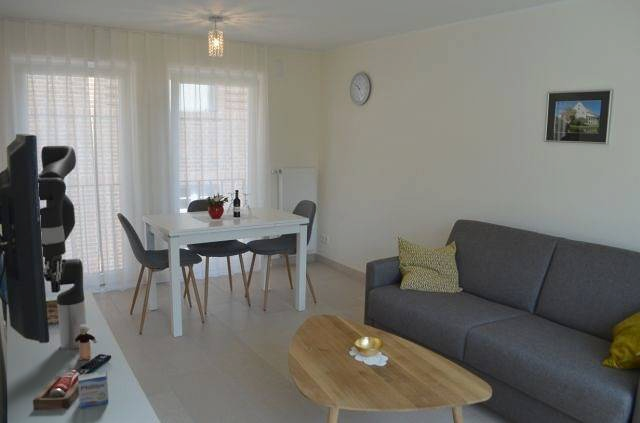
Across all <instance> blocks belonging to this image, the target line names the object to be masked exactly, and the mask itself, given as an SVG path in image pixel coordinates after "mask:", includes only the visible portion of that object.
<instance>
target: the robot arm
mask: <svg viewBox="0 0 640 423" xmlns="http://www.w3.org/2000/svg"><path fill="white" fill-rule="evenodd" d="M40 153H41V156H40V159H41V166H42V170H41V172H40V173H39V174H37V175H38V183H39V197H40V200H39V201H45V207H44V206H43V207H40V208H39V209H40V215H41V232H42V247H43V256H42V257H43V258H44V263H43V264H44V268H43V269H44V276H43V277H44V280H45V281H46V282H50V288H51V289H50V290H51V292H52V293H59V292H60V291H61V286H65V285H73V286H71V287H70V288H69V289H67V290H65V291H62V292H61V293H59V294H58V295H57V296H56V304H57V315H58V316H57V317H58V327H59V340H60V347H61V349H62V350H76V349H77V350H78V349H79V343H80V341H78V342H77V344H76V345H74V341H75V339H76V337H77V336H78V335H79V334H81V333H80V330H79V327H80V325H83V324H85V325H87V316H86V315H87V314H86V304H85V303H86V302H85V293H84V269H83V268H84V267H83V263H82V260H80V258H70V259H64V258H63V255H65V253H67V251H66V241H67V239H68V238H69V236H70V235H71V233H72V231H73V230H74V228H75V225H76V216H75V215H76V214H75V205H74V204H73V201H72V200H71V199H70V198H69V196H67V194H66V193H67V192H66V190H67V185H66V183H65V178H66V177H67V176H68V175H69V174H71V172H72V171H73V170H74V169H75V167H76V164H77V158H76V157H77V156H76V152H75V149H74V148H73V147H72V146H70V145H45V146H43V147H42V149H41V152H40Z"/></svg>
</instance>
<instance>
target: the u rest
mask: <svg viewBox="0 0 640 423" xmlns="http://www.w3.org/2000/svg"><path fill="white" fill-rule="evenodd" d="M61 378H62V377H61V376H57V375H55V376H54V378H52V379H51V381H49V383H48V384H47V385H45V387H44V388H43V389H42V390H41V391H40V392H39V393H38V394H37V395H36V396H35V397H34V399H32V405H33V410H34V411H37V410H65V409H67V410H68V409H70V407H71V406H72V405H73V403H74V402H75V400H77V398H79V387H78V381H77V382H76V383H75V384H74V386H73V387H72V388H71V389H70V390H69V391H68V393H67V394H66V395H65V396H64V397H63V398H49V393H50V391H51V389H52V388H53V387H54V386H55V384H56V383H57V382H58V381H59V380H60V379H61Z"/></svg>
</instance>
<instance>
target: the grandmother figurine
mask: <svg viewBox="0 0 640 423" xmlns="http://www.w3.org/2000/svg"><path fill="white" fill-rule="evenodd" d="M79 330H80V333H81V334H79V335H78V336H77V337H76V339H75V341H74V345H76V344H77V342H78V341H80V343H79V348H78V355H79V356H78V358H77V361H83V360H84V359H85V361H86V360H91V359H92V356H91V355H92V354H91V353H92V350H91V349H92V348H91V342H90V340H91V341H92V342H93V344H97V341H98V340H96V337H95V336H94V335H92V334H90V333H88V332H89V330H90V327H89V326H88V325H87V324H86V325H85V324H83V325H80V327H79Z"/></svg>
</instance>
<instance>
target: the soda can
mask: <svg viewBox="0 0 640 423" xmlns="http://www.w3.org/2000/svg"><path fill="white" fill-rule="evenodd" d="M79 375H81V374H80V372H78V371H77V370H75V369H74V370H67V371H66V372H65V373H64V374H63V376H62V377H61V379H60V380H59V381H58V382H57V383H56V384H55V386H54V387H53V388H52V389H51V391H50V393H49V398H63V397H64V396H65V395H66V394H67V393H68V391H69V390H70V389H71V388H72V387H73V386H74V384H75V383H76V382H77V381H78V376H79Z"/></svg>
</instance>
